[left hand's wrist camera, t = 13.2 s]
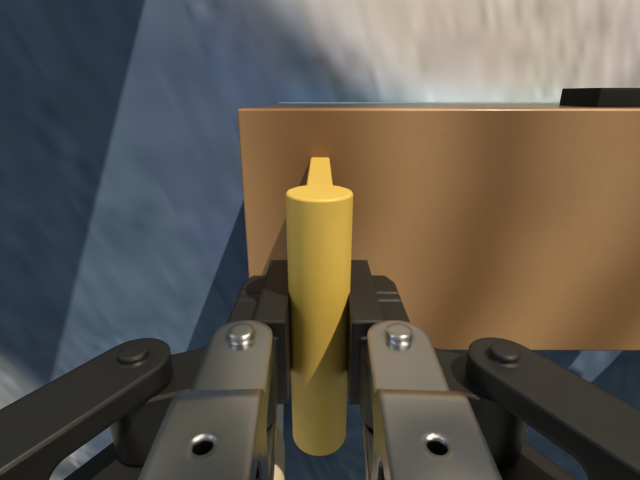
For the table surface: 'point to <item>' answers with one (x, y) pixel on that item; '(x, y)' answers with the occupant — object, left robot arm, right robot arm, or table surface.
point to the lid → (444, 230)
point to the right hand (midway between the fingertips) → (553, 215)
